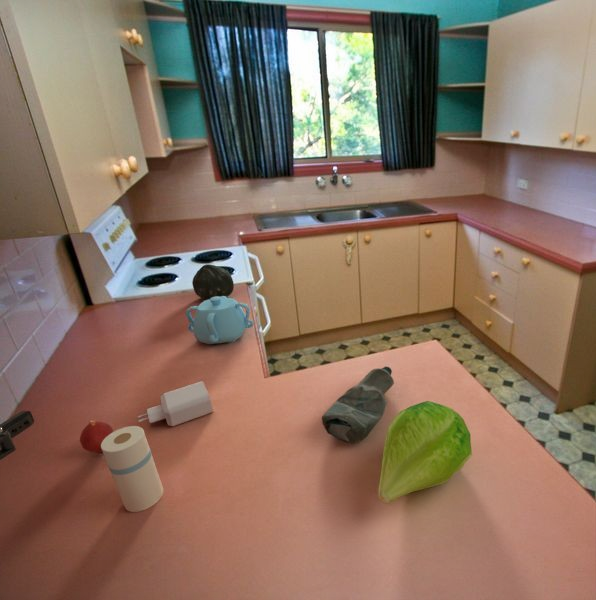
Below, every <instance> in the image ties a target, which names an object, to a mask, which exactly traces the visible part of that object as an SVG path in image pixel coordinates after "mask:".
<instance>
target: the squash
mask: <svg viewBox="0 0 596 600" xmlns="http://www.w3.org/2000/svg"><path fill="white" fill-rule="evenodd" d="M191 282H192V283H191V285H192V287H193V291H194V293H195V295H196V296H197V297H198V298H200V300H202V301H203V302H204V301H206V300H209V299H210V298H212V297H217V296H218V297H221V296H226V297H228V296H230V295H232V293H233V291H234V288H235V284H234V280H233V277H232V275H231V274H230V272H229V271H228V270H227V269H226V268H223V267H220V266H217V265H214V264H209V263H207V264H204V265H202V266H201V267H200V268H199V269H198V270H197V272H195V275H194V276H193V277H192V281H191Z"/></svg>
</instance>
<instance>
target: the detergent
mask: <svg viewBox="0 0 596 600" xmlns="http://www.w3.org/2000/svg"><path fill="white" fill-rule="evenodd" d="M392 372H393V370H392V369H391V367H390V366H383V367H380V368H378V367H377V368H373V369H371V370H370V371H369V372H367V374H366V375H365V376H364V377H363V378H362V379H361V380H360V382H359V383H357V384H356V385H354V386H352V387H351V388H349V389H348V390H346V391H345V392H344V393H343V394H342V395H341V396H340V397H338V398H337V399H336V400H335V402H334V403H333V404H332V405H331V406H330V407H329V408H328V409H327V410H326V411H325V412H324V414H323V415H322V416H321V423H322V425H323V428H324V429H325V431H326V432H327V434H328V435H330V436H333V437H334V438H335V439H339V440H341V441H343V442H346V443H353V444H354V443H358V442H361V441H363V440H364V439H366V438H367V437H368V435H369V434H370V433H371V431H373V430H374V428H375V427H376V425H377V424H378V422H380V421H381V419H383V416H384V413H385V411H386V407H387V404H388V401H387V399H386V397H385V394H386V393H387V392H388V391H389V390H391V388H392V387H393V385H394V384H395V381H394V379H393V376H392Z"/></svg>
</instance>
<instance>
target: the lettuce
mask: <svg viewBox="0 0 596 600" xmlns="http://www.w3.org/2000/svg"><path fill="white" fill-rule="evenodd" d="M382 454H383V455H382V460H381V461H382V462H381V472H380V478H379V484H378V499H379V500H380V501H381V502H382V503H384V504H387V503H391V502H393V501H394V500H397V499H399V498H401V497H403V496H405V495H408V494H409V493H412V492H417V491H420V490H425V489H428V488H432V487H436V486H439V485H442V484H445V483H446V482H448V481H449V480H450V479H451V478H452V477H453V476H454V475H456V473H457V472H459V471H460V470H461V469H462V468H463V467H464V466H465V464H466V463H467V462H468V461H469V459H471V457H472V456H473V450H472V441H471V433H470V430H469V428H468V426H467V424H466V422H465V420H464V418H463V417H462V416H461V415H460V413H458V412H457V411H455V410H454V409H453V408H451V407H449V406H446V405H443V404H440V403H437V402H433V401H431V400H426V401H422V402H420V403H417V404H413V405H411V406H408V407H406V408H404V409H403V410H401V411H400V412H399V413H398V414H397V415H396V416H395V417H394V418H393V420H392V422H391V423H390V425H389V426H388V427H387V431H386V437H385V442H384V448H383V453H382Z"/></svg>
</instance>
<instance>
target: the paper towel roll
mask: <svg viewBox="0 0 596 600" xmlns="http://www.w3.org/2000/svg"><path fill="white" fill-rule="evenodd" d="M113 431H114V432H113V433H111V434H109V435H108V436H107V437H106V438H105V439H104V440H103V441H102V443H101V449H102V451H103V452H102V454H103V457H104V459H105V461H106V464H107V467H108V470H109V472H110V474H111V476H112V479H113V482H114V484H115V487H116V489H117V492H118V494H119V496H120V499H121V501H122V504H123V507H124V509H125V510H126V511H127V512H129V513H139V512H143V511H146V510H147V509H150V508H152V507H153V506H154V505H156V504H157V503H158V502H159V501H160V499H161V498H162V497H163V495H164V487H163V484H162V481H161V477H160V475H159V472H158V469H157V466H156V463H155V460H154V457H153V454H152V450H151V447H150V446H149V445H150V444H149V443H148V439H147V437H146V434H145V430H144V429H143V428H142V427H141V426H138V425H128V426H124V427H122V428H121V427H120V428H118V429H116V430H113Z"/></svg>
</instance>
